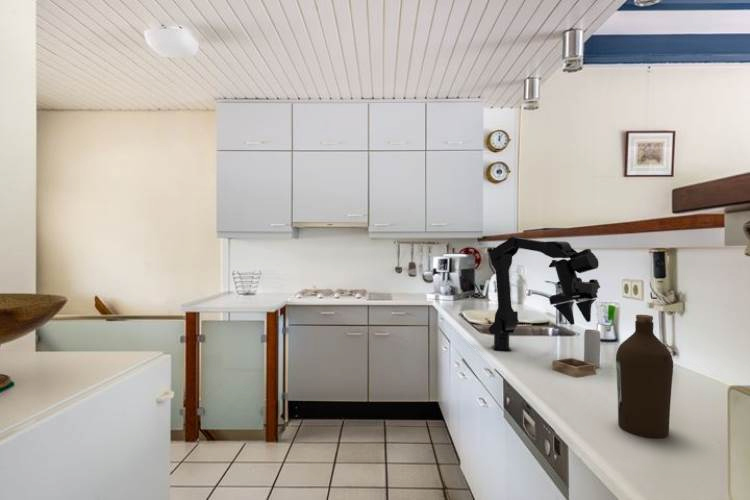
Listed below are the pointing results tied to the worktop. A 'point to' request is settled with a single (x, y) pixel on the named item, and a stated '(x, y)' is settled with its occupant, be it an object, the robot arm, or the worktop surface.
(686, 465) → the worktop surface
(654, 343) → the olive oil
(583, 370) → the walnut socket
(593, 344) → the beverage can
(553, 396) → the worktop surface
